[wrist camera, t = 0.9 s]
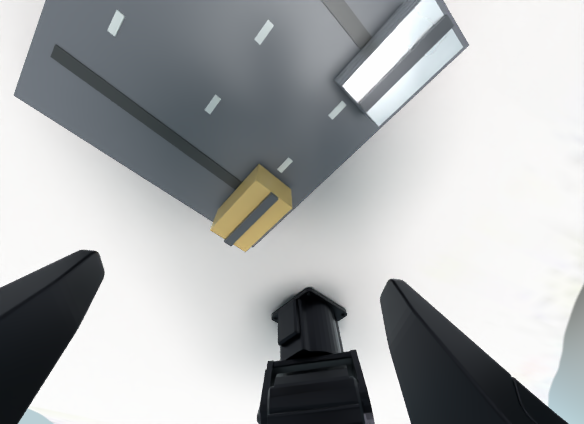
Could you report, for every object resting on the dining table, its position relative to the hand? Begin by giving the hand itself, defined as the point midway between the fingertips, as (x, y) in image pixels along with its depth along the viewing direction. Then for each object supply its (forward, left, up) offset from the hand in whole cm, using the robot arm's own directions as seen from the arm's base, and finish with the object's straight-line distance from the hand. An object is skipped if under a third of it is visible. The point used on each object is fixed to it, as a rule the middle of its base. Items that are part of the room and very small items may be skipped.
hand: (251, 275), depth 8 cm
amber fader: (-2, +3, -11) cm, 12 cm away
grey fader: (-2, -9, -11) cm, 14 cm away
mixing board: (+4, -3, -14) cm, 14 cm away
